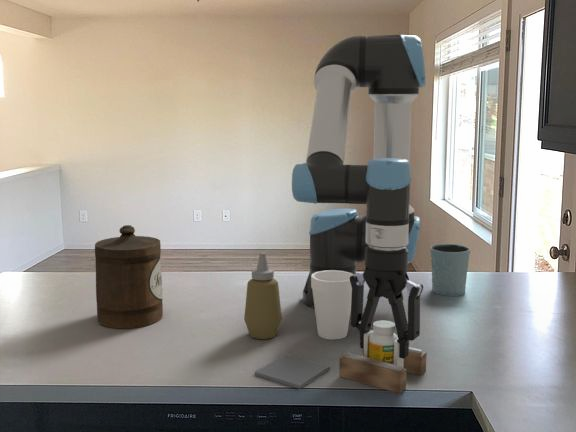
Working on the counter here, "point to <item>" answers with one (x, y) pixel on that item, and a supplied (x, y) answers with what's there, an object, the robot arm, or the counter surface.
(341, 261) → the robot arm
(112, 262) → the wooden container
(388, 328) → the supplement bottle
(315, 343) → the counter surface
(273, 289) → the squeeze bottle
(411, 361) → the wooden blocks
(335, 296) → the foam cup
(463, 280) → the green cup
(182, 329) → the counter surface
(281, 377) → the mat
